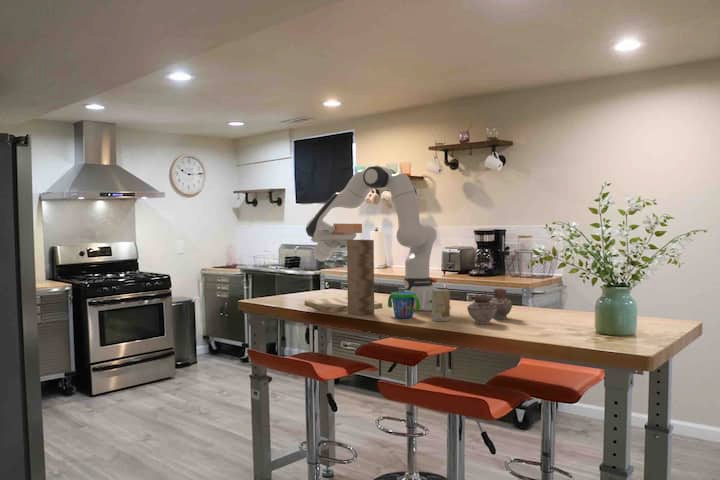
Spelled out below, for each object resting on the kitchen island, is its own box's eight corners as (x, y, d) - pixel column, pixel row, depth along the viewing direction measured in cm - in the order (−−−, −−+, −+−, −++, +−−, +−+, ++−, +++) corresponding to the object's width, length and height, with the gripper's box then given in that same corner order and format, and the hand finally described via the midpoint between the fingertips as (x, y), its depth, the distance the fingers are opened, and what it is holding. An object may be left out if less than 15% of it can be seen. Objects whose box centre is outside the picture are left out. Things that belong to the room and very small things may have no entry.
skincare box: (435, 321, 220) (435, 290, 220) (431, 320, 225) (431, 289, 224) (450, 320, 222) (450, 290, 222) (445, 319, 226) (445, 289, 226)
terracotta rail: (341, 232, 260) (341, 223, 260) (362, 233, 240) (362, 223, 240) (333, 232, 258) (333, 223, 258) (353, 233, 239) (353, 223, 239)
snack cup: (381, 316, 235) (381, 292, 234) (399, 313, 241) (399, 290, 241) (407, 321, 223) (407, 295, 222) (426, 318, 229) (425, 293, 229)
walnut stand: (363, 310, 250) (363, 239, 249) (374, 314, 241) (373, 240, 240) (347, 312, 246) (347, 239, 245) (357, 315, 237) (356, 240, 236)
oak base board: (356, 300, 284) (356, 296, 284) (382, 307, 259) (382, 303, 259) (304, 304, 272) (304, 300, 272) (326, 312, 247) (326, 307, 247)
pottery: (518, 318, 227) (518, 289, 227) (488, 327, 209) (488, 295, 208) (493, 315, 235) (492, 287, 235) (461, 323, 216) (461, 293, 216)
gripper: (308, 235, 264) (318, 221, 253) (347, 235, 273) (358, 221, 262) (311, 247, 261) (320, 233, 250) (350, 246, 270) (361, 232, 259)
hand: (340, 226), depth 256 cm, fingers closed on terracotta rail, 4 cm apart
